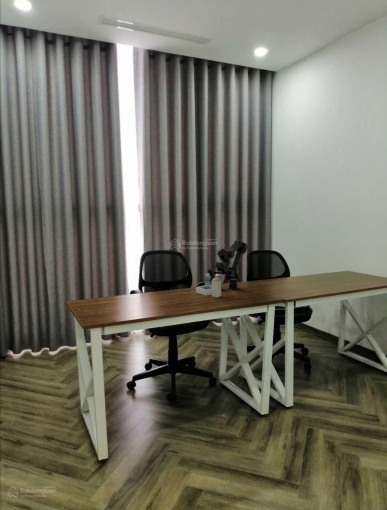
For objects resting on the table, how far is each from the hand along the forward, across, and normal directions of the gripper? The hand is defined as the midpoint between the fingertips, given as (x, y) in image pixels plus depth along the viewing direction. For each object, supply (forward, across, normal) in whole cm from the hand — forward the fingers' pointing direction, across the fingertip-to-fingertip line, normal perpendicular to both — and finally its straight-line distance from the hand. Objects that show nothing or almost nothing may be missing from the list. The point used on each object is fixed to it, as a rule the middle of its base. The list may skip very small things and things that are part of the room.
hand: (217, 283), depth 248 cm
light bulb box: (-8, -14, +21) cm, 26 cm away
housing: (+2, -10, +10) cm, 14 cm away
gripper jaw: (+7, 0, +5) cm, 9 cm away
